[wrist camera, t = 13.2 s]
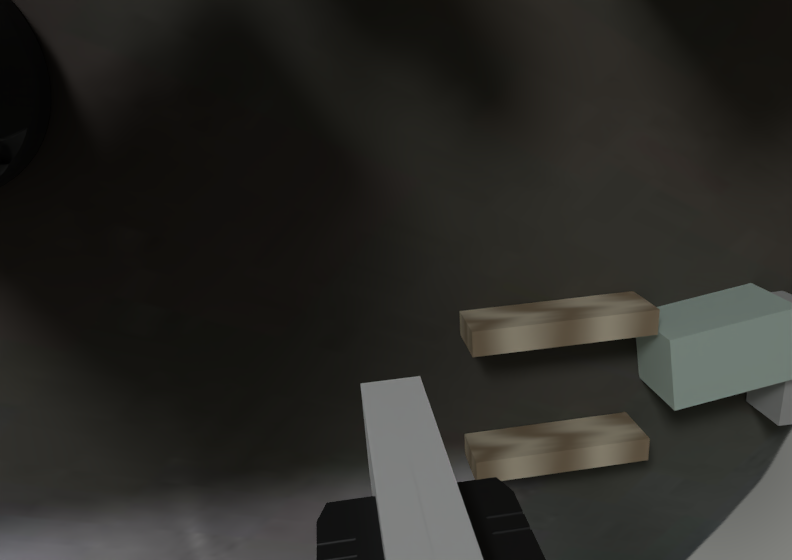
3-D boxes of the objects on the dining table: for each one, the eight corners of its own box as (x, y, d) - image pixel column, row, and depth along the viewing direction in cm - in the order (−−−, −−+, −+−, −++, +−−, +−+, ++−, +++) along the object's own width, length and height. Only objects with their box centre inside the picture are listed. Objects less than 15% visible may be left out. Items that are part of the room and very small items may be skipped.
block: (638, 376, 51) (674, 410, 46) (632, 312, 49) (669, 340, 44) (750, 347, 52) (799, 377, 46) (749, 282, 50) (800, 306, 44)
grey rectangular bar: (745, 400, 53) (778, 425, 49) (760, 293, 50) (796, 311, 46) (767, 397, 53) (801, 422, 50) (783, 290, 50) (821, 308, 46)
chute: (465, 454, 51) (476, 484, 48) (459, 311, 47) (472, 331, 43) (624, 432, 53) (648, 460, 49) (632, 291, 48) (659, 309, 45)
